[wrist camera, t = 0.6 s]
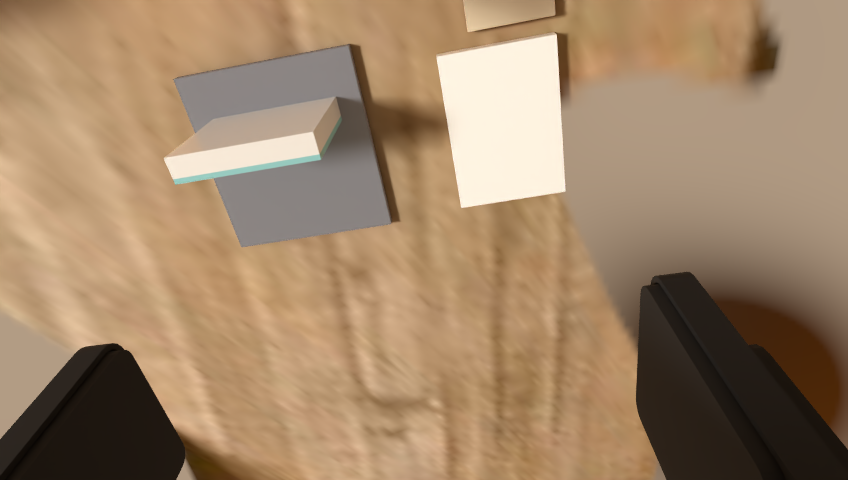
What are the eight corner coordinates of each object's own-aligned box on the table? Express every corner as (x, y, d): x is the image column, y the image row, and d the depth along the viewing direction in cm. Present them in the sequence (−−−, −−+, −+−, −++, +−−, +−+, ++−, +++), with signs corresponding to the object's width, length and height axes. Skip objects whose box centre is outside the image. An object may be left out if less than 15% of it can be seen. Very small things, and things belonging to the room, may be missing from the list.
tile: (213, 118, 33) (163, 158, 27) (335, 96, 32) (312, 131, 26) (222, 141, 34) (175, 184, 28) (342, 120, 33) (321, 159, 27)
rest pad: (436, 54, 32) (436, 56, 31) (553, 32, 31) (556, 34, 30) (460, 202, 36) (461, 207, 36) (562, 186, 36) (565, 191, 35)
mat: (177, 77, 33) (173, 79, 32) (349, 43, 31) (348, 45, 31) (244, 243, 38) (241, 247, 38) (391, 220, 37) (391, 224, 37)
